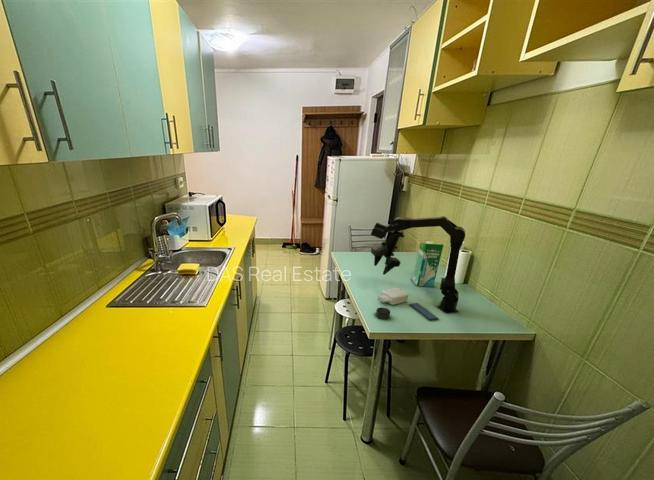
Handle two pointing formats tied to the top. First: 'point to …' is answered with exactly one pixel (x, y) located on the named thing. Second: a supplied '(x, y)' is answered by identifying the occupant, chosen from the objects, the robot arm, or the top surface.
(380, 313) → the black knob
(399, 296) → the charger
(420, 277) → the milk carton
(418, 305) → the dark blue flat bar
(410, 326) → the top surface
